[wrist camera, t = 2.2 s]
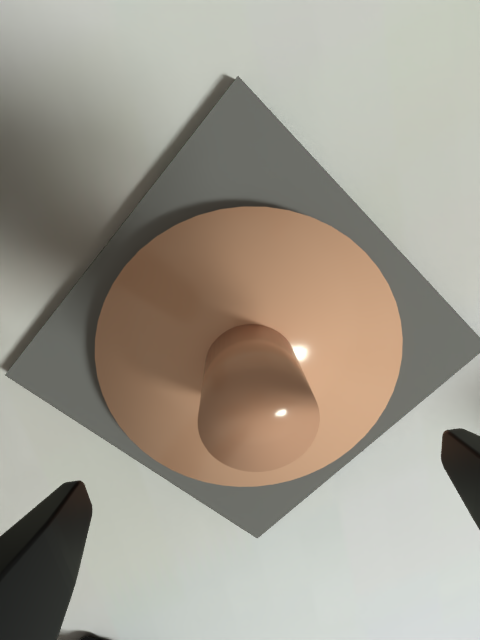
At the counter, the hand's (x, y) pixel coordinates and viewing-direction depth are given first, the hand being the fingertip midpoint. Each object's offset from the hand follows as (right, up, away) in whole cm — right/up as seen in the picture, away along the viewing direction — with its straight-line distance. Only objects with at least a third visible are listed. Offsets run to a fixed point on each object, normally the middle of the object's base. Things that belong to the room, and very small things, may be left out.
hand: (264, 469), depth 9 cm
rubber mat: (0, +2, +6) cm, 6 cm away
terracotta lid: (0, +2, +6) cm, 6 cm away
